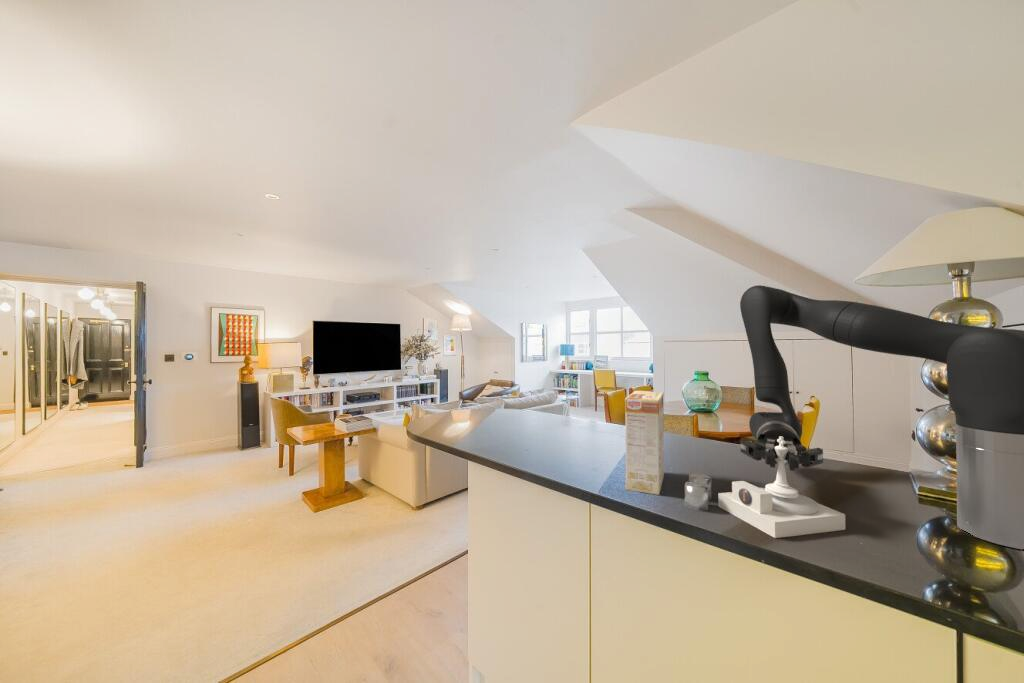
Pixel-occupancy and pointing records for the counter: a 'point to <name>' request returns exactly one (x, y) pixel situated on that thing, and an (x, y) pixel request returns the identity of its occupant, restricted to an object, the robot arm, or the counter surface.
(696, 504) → the spacer
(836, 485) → the counter surface
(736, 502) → the scale
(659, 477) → the coffeecake box
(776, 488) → the chess piece
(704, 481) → the spacer
